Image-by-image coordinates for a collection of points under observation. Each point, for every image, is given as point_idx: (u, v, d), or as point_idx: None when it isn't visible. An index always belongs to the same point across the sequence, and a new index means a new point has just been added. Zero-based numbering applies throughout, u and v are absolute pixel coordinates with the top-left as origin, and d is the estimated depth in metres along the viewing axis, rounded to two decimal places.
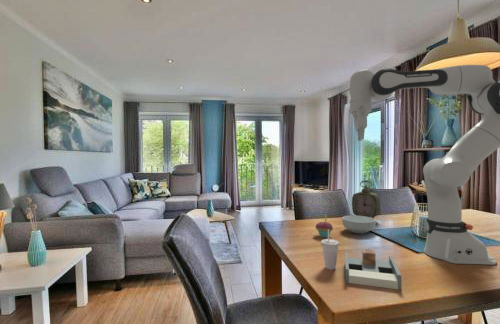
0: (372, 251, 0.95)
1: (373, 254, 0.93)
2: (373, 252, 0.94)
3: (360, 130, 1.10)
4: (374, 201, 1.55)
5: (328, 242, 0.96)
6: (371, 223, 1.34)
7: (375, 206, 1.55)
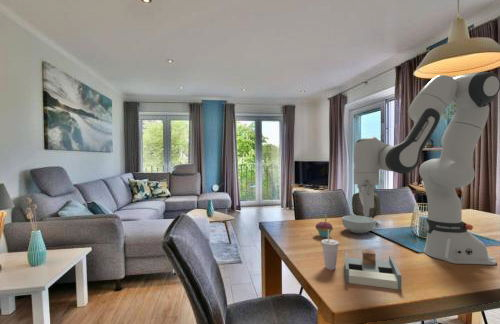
0: (372, 251, 0.95)
1: (373, 254, 0.93)
2: (373, 252, 0.94)
3: None
4: (374, 201, 1.55)
5: (328, 242, 0.96)
6: (371, 223, 1.34)
7: (375, 206, 1.55)
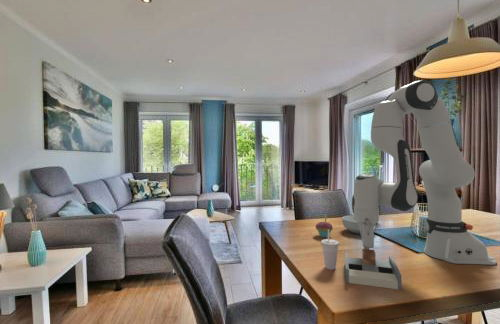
0: (372, 251, 0.95)
1: (373, 254, 0.93)
2: (373, 252, 0.94)
3: None
4: None
5: (328, 242, 0.96)
6: None
7: None
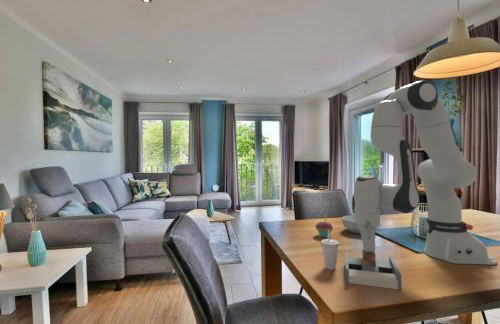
0: (372, 252, 0.94)
1: (373, 255, 0.92)
2: (373, 252, 0.94)
3: None
4: None
5: (328, 242, 0.96)
6: None
7: None
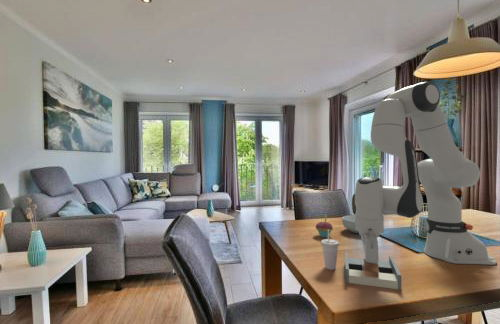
0: None
1: (376, 265, 0.84)
2: (375, 263, 0.85)
3: None
4: None
5: (328, 242, 0.96)
6: None
7: None
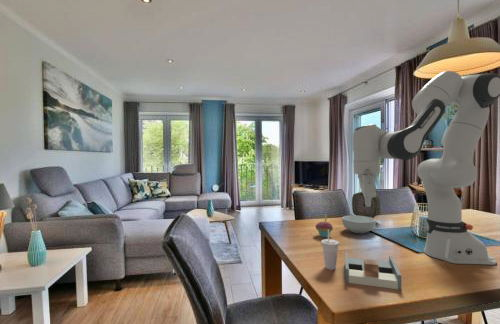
0: (375, 262, 0.86)
1: (376, 265, 0.84)
2: (375, 263, 0.85)
3: None
4: (374, 201, 1.55)
5: (328, 242, 0.96)
6: (371, 223, 1.34)
7: (375, 206, 1.55)
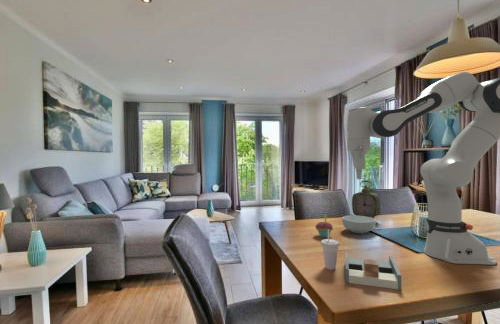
0: (375, 262, 0.86)
1: (376, 265, 0.84)
2: (375, 263, 0.85)
3: (357, 170, 1.09)
4: (374, 201, 1.55)
5: (328, 242, 0.96)
6: (371, 223, 1.34)
7: (375, 206, 1.55)
